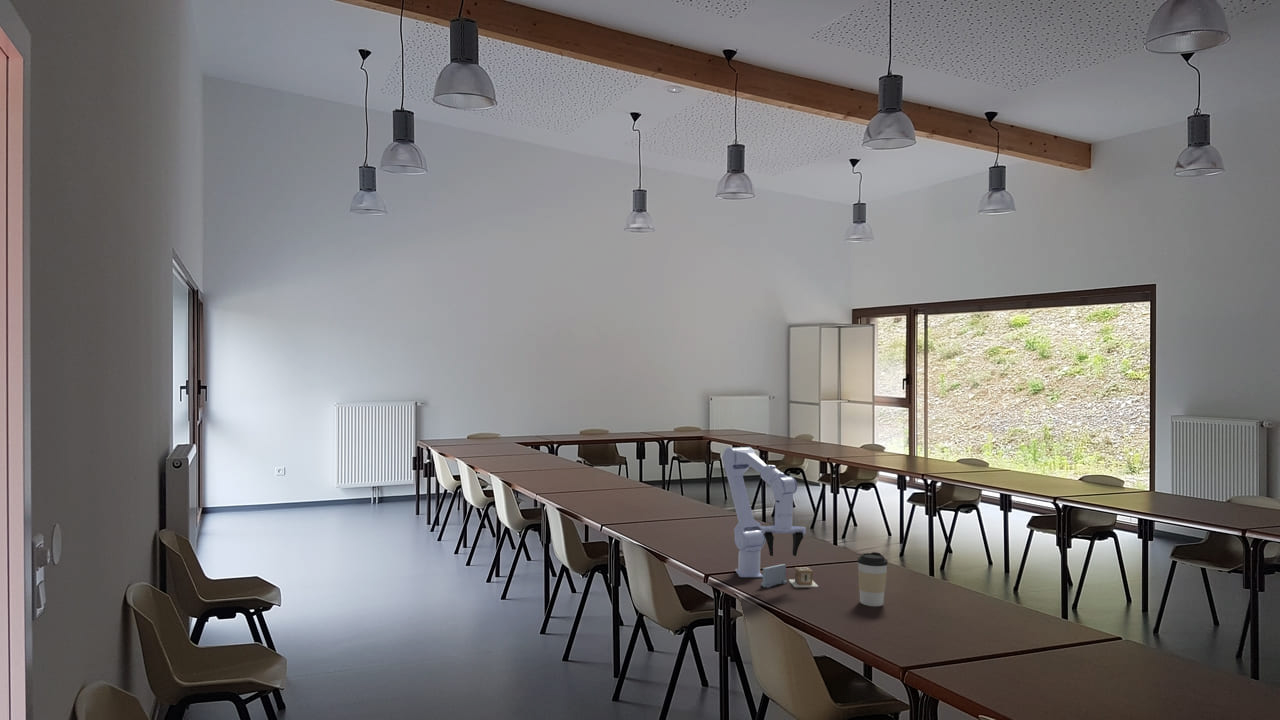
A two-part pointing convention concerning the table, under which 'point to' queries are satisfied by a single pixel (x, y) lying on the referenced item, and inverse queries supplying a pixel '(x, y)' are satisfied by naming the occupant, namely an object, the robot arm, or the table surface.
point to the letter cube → (803, 575)
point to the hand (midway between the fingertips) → (782, 555)
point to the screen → (774, 575)
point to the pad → (802, 585)
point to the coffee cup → (872, 578)
